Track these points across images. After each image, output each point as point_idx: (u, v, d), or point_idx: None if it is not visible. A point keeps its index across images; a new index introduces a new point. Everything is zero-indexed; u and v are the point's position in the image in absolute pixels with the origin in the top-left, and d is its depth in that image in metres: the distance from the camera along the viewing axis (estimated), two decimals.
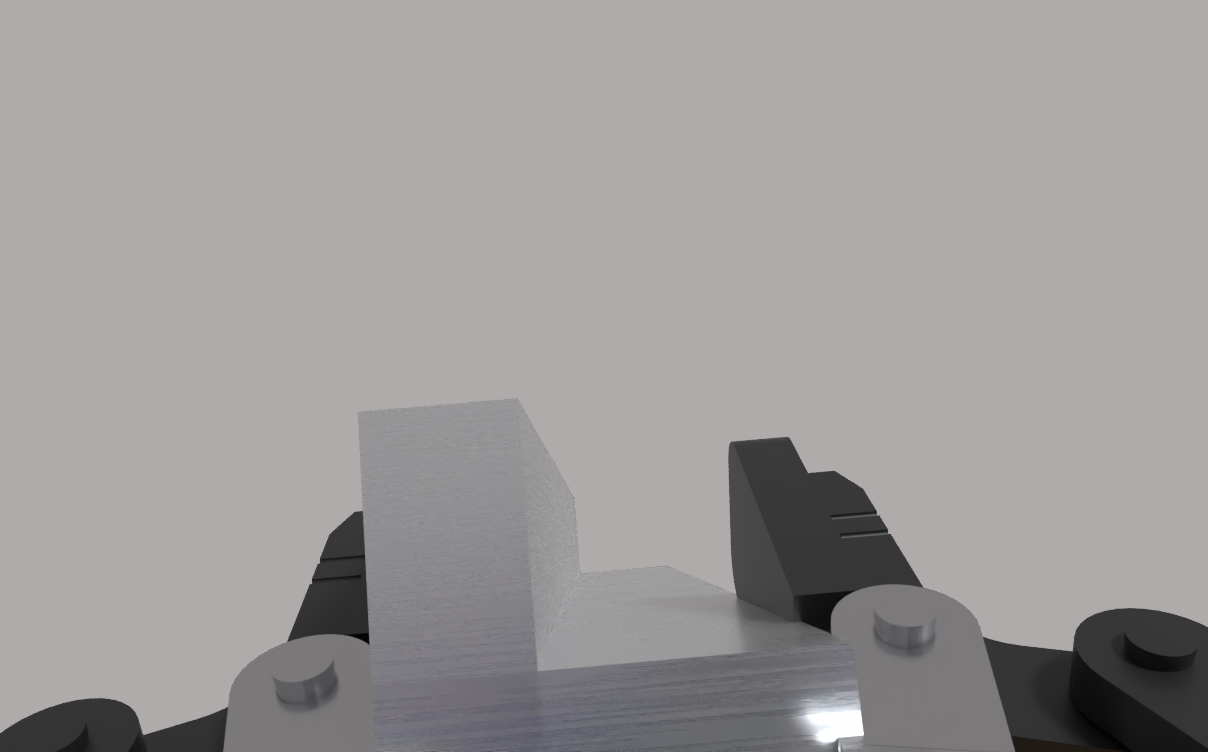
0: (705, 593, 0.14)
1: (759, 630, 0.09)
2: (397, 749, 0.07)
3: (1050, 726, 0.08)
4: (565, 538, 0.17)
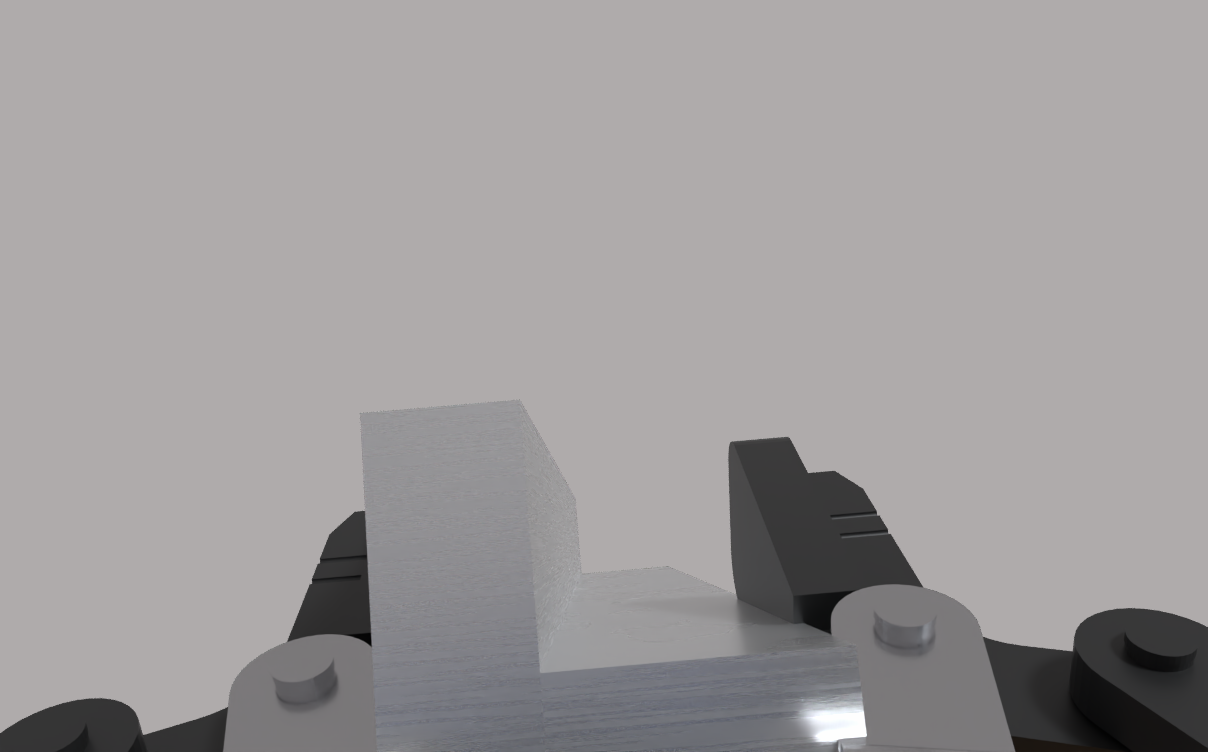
0: (707, 594, 0.14)
1: (761, 632, 0.09)
2: (399, 751, 0.07)
3: (1051, 726, 0.08)
4: (566, 539, 0.17)
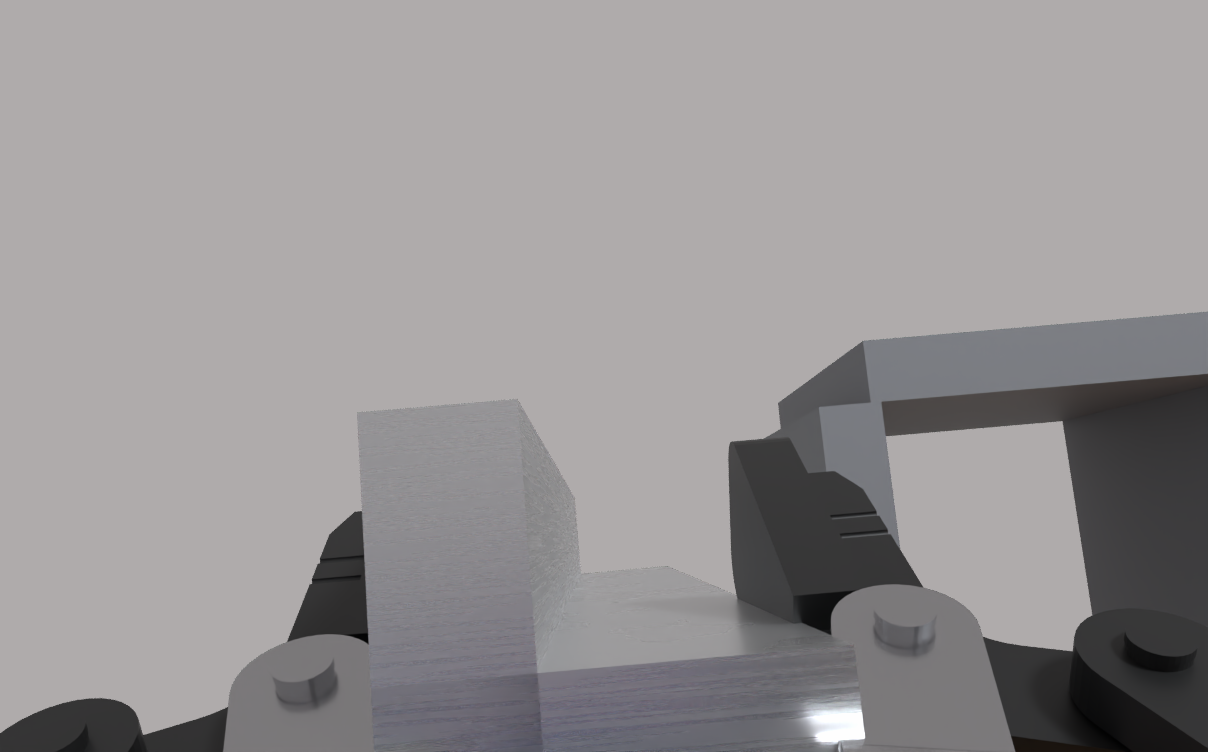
0: (705, 594, 0.14)
1: (759, 632, 0.09)
2: (396, 751, 0.07)
3: (1050, 726, 0.08)
4: (565, 539, 0.17)
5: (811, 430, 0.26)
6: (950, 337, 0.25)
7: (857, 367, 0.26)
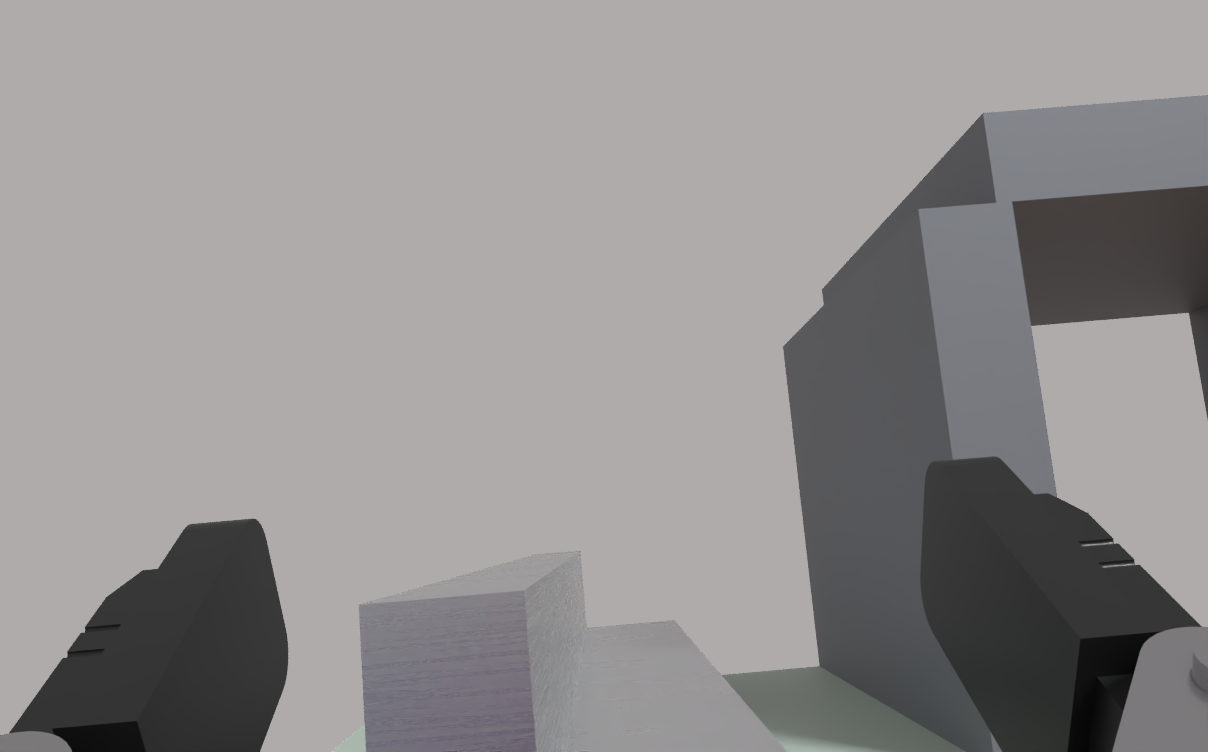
0: (715, 698, 0.14)
1: None
2: None
3: None
4: (572, 627, 0.17)
5: (901, 255, 0.17)
6: (1113, 109, 0.17)
7: (969, 162, 0.17)
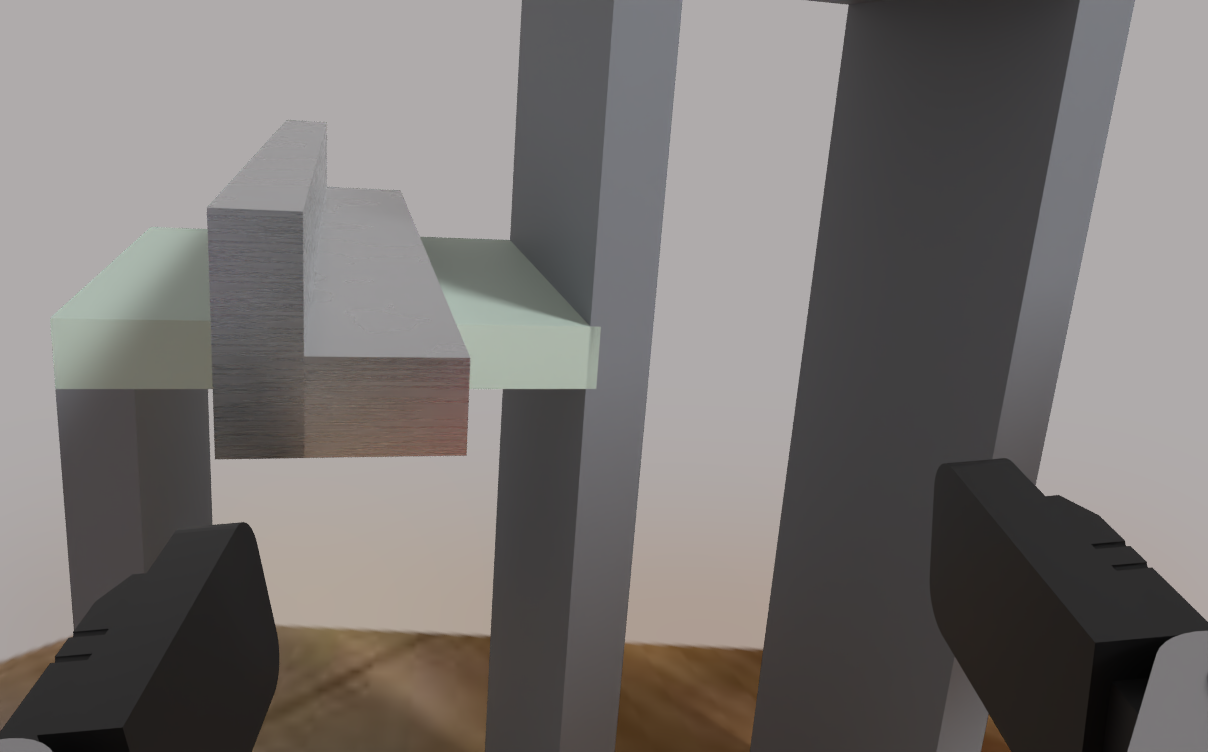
0: (415, 264, 0.21)
1: (430, 332, 0.16)
2: (224, 387, 0.14)
3: None
4: None
5: None
6: None
7: None
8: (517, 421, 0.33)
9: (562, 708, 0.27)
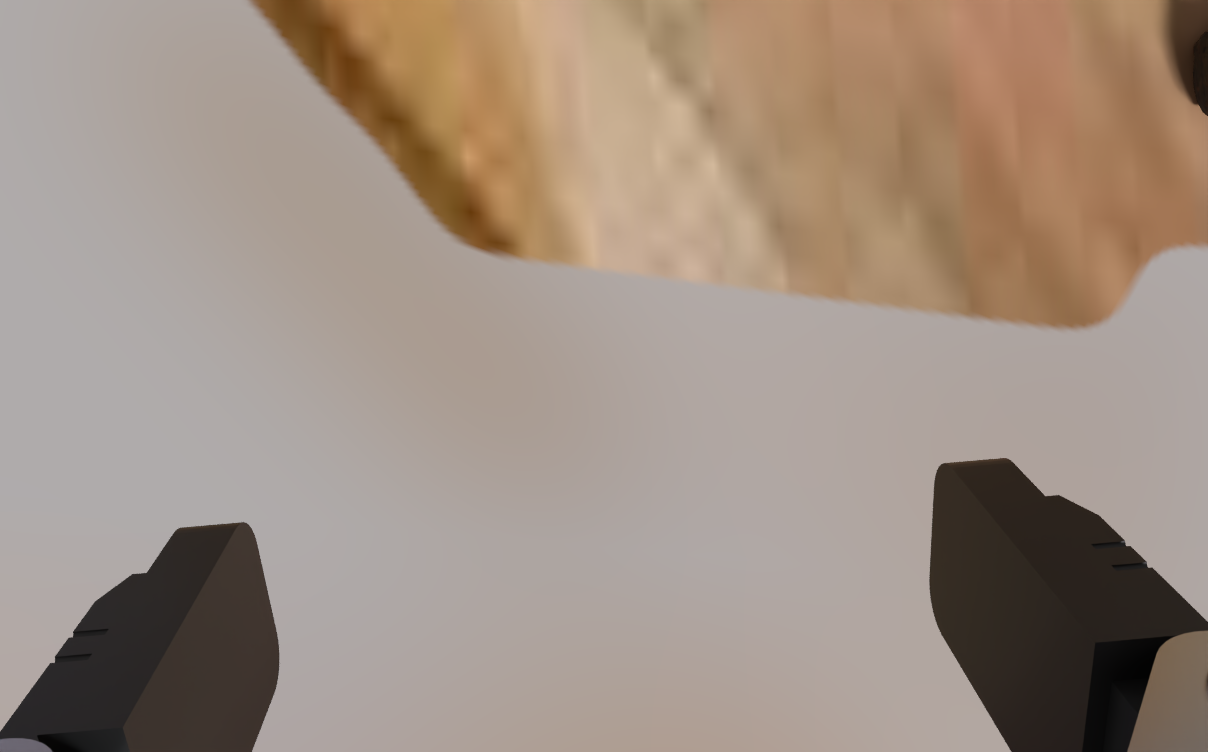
0: None
1: None
2: None
3: None
4: None
5: None
6: None
7: None
8: None
9: None
